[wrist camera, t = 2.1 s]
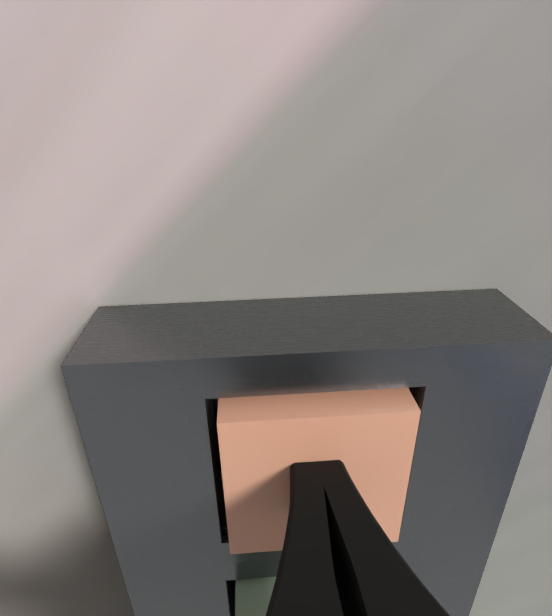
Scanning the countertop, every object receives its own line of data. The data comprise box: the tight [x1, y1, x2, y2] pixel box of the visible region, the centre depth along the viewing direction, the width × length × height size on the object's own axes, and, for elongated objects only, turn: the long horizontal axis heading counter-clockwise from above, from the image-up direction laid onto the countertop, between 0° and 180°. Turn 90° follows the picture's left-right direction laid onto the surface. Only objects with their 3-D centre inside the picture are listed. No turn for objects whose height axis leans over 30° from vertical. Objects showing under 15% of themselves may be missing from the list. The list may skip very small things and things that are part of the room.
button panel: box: [61, 289, 552, 616], centre depth 17 cm, size 12×23×3 cm, turn 1°
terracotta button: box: [217, 388, 421, 554], centre depth 13 cm, size 5×5×3 cm
